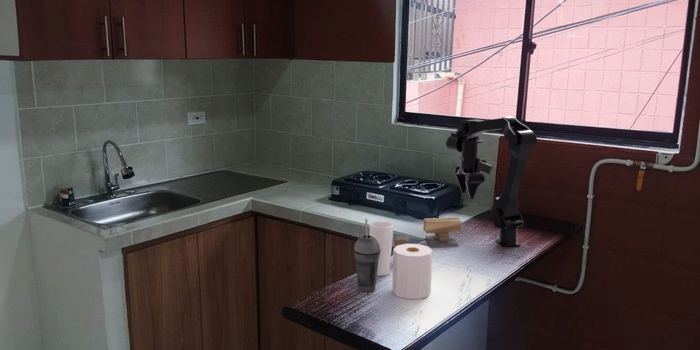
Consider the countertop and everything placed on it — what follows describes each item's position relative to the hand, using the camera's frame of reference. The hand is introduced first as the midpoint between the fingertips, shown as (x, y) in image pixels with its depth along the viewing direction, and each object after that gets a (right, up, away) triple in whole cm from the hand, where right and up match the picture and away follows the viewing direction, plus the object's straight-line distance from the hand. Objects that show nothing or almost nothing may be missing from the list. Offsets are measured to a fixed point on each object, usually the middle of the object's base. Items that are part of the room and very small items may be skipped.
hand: (467, 195), depth 212 cm
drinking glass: (-34, -21, -43) cm, 59 cm away
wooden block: (-27, -20, -35) cm, 48 cm away
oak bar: (-12, -11, -16) cm, 23 cm away
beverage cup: (-39, -24, -56) cm, 72 cm away
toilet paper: (-27, -24, -56) cm, 67 cm away
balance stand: (-12, -15, -15) cm, 24 cm away
